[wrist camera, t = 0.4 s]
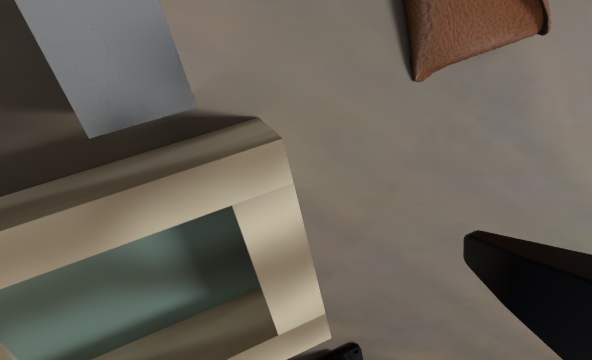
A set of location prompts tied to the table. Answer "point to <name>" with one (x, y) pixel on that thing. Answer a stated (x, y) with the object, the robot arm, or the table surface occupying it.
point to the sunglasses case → (467, 29)
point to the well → (163, 257)
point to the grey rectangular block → (111, 60)
